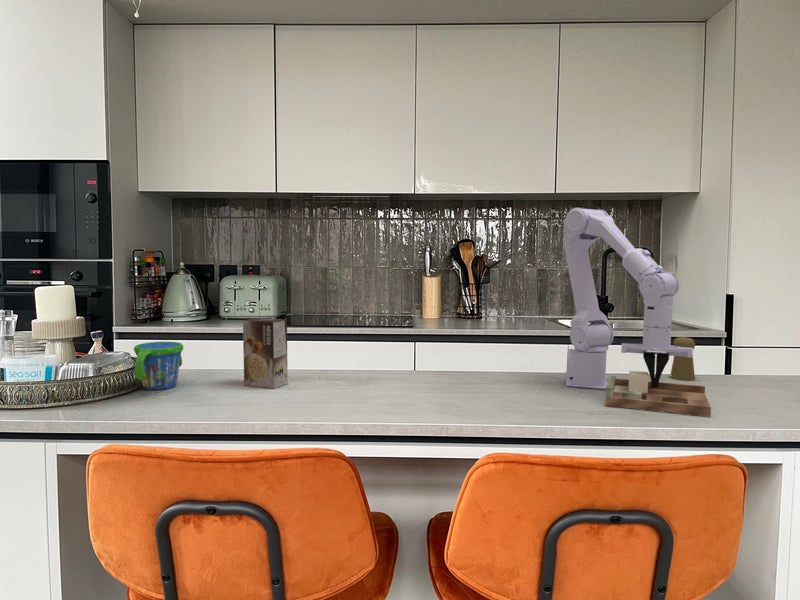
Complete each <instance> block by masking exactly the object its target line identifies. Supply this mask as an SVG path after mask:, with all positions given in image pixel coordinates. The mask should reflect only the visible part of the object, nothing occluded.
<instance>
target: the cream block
mask: <svg viewBox="0 0 800 600" xmlns="http://www.w3.org/2000/svg"><path fill="white" fill-rule="evenodd" d="M628 380H629V389H628V391H630V392H641V393H648V381H649V371H639V370H638V371H637V370H629V372H628Z"/></svg>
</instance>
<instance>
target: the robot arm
mask: <svg viewBox="0 0 800 600" xmlns="http://www.w3.org/2000/svg"><path fill="white" fill-rule="evenodd" d="M563 226H564V227H563V228H564V233H565V234H564V235H565V237H564V244H563V245H564V253H565V258H566V259H565V260H566V264H567V270H568V275H569V280H570V285H571V290H572V295H573V302H574V306H575V315H574V316H573V318H572V319H571V320H570V321H569V322H570V334H569V337H570V339H569V341H570V342H571V345H572V346H573V347H574V348H569V349H567V355H566V356H567V357H566V371H565V386H567V387H575V388H576V387H577V388H584V389H585V388H587V389H597V390H598V389H599V390H607V386H608V383H609V381H606V374H607V373H606V372H607V353H608V352H607V351H609V346H610V345H611V344H612V343H613V341H614V338H615V335H614V331H613V328H612V326H611V324H609V320H608V317H607V315H605V314H604V313H603V312H602V311H601V310H600V307H599V301H598V297H597V296H598V295H597V292H596V291H597V290H596V285H595V281H594V276H593V271H592V266H591V261H590V260H591V259H590V255H589V248H590V247H591V245H592V244H593V243H594V242H596V241H597V240H598V239H599V238H601V239H603V240H604V241H605V242H606V243H607V245H608V246H610V247H611V248H612V249H613V250H614V251H615V252H616V253H617V254H618V255H619V256H620V257H621V258H622V262H621V263H622V265H621V266H622V267H623V268H624V269H625V270H626V271H627V272H628V273H629V274H630V275H631V277H633V279H634V280H635V281H636V282H637V283H638V284H639V285H638V288H639V291H640V294H641V295H642V298H643V304H644V308H643V331H642V343H626V342H625V343H623V342H622V343H621V351H620V352H621V354H626V353H629V354H643V355H642V356H643V360H644V363H645V366H646V367H647V370H648V371H647V372H648V375H649V377H650V381H651V387H656V388H658V383H659V382H660V380H661V376H662V374H663V372H664V370H665V367H666V366H667V365H668V362H669V360H670V356H673V357H674V356H684V357H691V358H692V355H693V354H694V349H692V348H688V347H678V346H674V345H671V342H672V341H671V340H672V322H673V303H674V301H673V300H674V299H673V298H674V296H675V295H676V294H677V293H678V291H679V288H680V285H679V284H680V283H679V280H678V278H677V277H676V275H675V274H674V273H673V272H670V271H664V267H663V266H662V265H659V264H658V263H657V262H656V261H655V260H654V258H652V257H651V256H650V255H651V252H650V251H649V250H648V249H643V248H640V247H638V248H635V246H634V245H633V244H632V243H631V242H630V240H629V239H628V238H627V237H626V236H625V235H624V234H623V232H622V231H621V230H620V228H619V227H618V226H617V225H616V223H615V222H614V218H613V217H612V216H610V215H609V214H608V213H607V211H606V210H604V209H589V208H581V207H574V208H572V209H570V211H569V212H568V213H567V215H566V217H565V218H564V219H563Z"/></svg>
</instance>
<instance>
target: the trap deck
mask: <svg viewBox="0 0 800 600" xmlns="http://www.w3.org/2000/svg"><path fill="white" fill-rule="evenodd" d="M628 389H629V378H628V379H625V378H617V377H616V376H615V375H610V376H609V380H608V384H607V387H606V401H605V405H606V407H609V408H610V407H611V408H612V407H613V408H620V409H628V408H633V409H632V410H638V409H645V410H644V411H647V410H655V411H654V412H657V411H664V412H663V413H667V412H673V413H672V414H676V413H681V414H680V415H686V414H690V416H695V415H701V416H700V417H705V416H710V417H711V415H712V413H711V410H712V407H711V405H710V402H709V399H708V398H707V395H706V393H705V392H706V386H705V385H694V384H687V383H686V384H684V383H671V382H660V381H659V383H658V388H656V387H651V380H650V381H649V380H648V393H641V392H630V391H628Z"/></svg>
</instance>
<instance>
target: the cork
mask: <svg viewBox="0 0 800 600" xmlns="http://www.w3.org/2000/svg"><path fill="white" fill-rule="evenodd" d="M672 344H673V345H672V346H678V347H688V348H692V349H693V350H694V349H695V346H696V343H695V340H694V339H693V338H690V337H687V336H686V337H684V336H680V337H675V338H674V340H673V343H672ZM671 365H672V366H671V370H670V375H672V376H669V378H670V379H672V380H676V381H684V382H685V381H686V382H688V381H689V382H690V381H691V382H692V381H695V380H696V376H695V367H694V356H693V355H692V358H691V357H684V356H673V360H672V364H671Z"/></svg>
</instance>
